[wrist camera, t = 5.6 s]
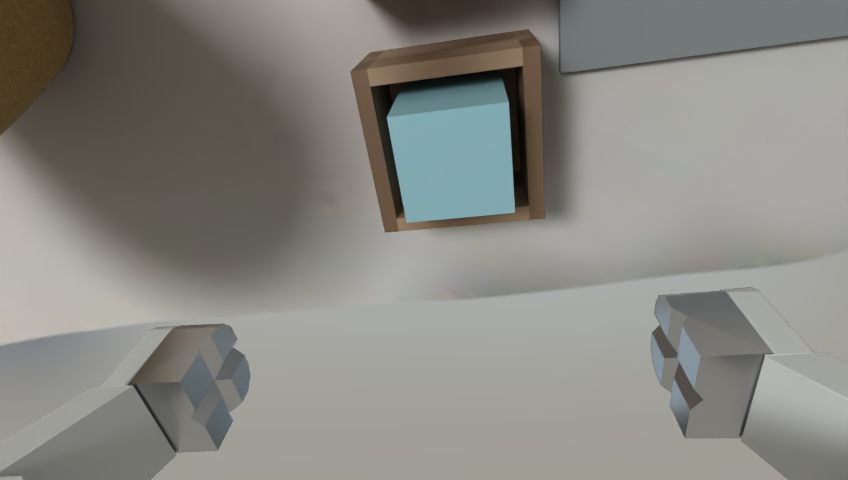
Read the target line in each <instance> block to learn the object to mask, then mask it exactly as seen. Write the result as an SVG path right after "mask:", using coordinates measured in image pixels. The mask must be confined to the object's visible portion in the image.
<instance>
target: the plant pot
mask: <svg viewBox="0 0 848 480" xmlns="http://www.w3.org/2000/svg"><path fill="white" fill-rule="evenodd" d="M73 36H74V29H73V16H72V11H71V6H70V2H69V0H0V135H1V134H2V133H3V132H4V131H5V130H6V129H7V128H8V127H9V126H10V125H11V124H12V123H13V122H14V121H15V120H16V119H17V118H19V116H20V115H21V114H22V113H23V112H24V111H25V110H26V109H27V108H28V107H29V106H30V105H31V104H32V103H33V102H34V101H35V100H36V99H37V97H38V96H39V95H40V94H41V93H42V92H43V90H44V89H45V88H46V87H47V86H48V85H49V83H50V82H51V81H52V80H53V79H54V77H55V76H56V75H57V73H58V72H59V71H60V70H61V68H62V67H63V66H64V64H65V62H66V60H67V59H68V57H69V54H70V51H71V47H72V42H73Z"/></svg>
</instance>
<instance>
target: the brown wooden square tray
mask: <svg viewBox="0 0 848 480" xmlns="http://www.w3.org/2000/svg"><path fill="white" fill-rule="evenodd" d="M497 69H500V72H501V76H502V80H503V83H504V87H505V90H506V94H507V98H508V101H509V115H510V132H511V150H512V167H513V184H514V201H515V213H506V214H496V215H485V216H474V217H463V218H453V219H442V220H431V221H420V222H410V223H406V218H405V212H404V207H403V202H402V196H401V191H400V186H399V180H398V175H397V170H396V164H395V159H394V154H393V148H392V143H391V138H390V132H389V127H388V122H387V116H388V114H389V112H390V110H391V108H392V106H393V104H394V102H395V100H396V98H397V96H398V94H399V92H400V90H401V88H402V86H403V84H404V82H408V81H415V80H423V79H430V78H438V77H445V76H452V75H460V74H467V73H475V72H482V71H489V70H497ZM351 76H352V81H353V86H354V90H355V95H356V100H357V104H358V109H359V114H360V118H361V123H362V128H363V132H364V137H365V141H366V146H367V151H368V155H369V160H370V165H371V169H372V174H373V179H374V183H375V188H376V193H377V197H378V202H379V206H380V211H381V216H382V220H383V225H384V230H385V232H396V231H407V230H418V229H430V228H441V227H452V226H463V225H474V224H485V223H497V222H508V221H519V220H530V219H541V218H545V211H544V170H543V129H542V87H541V46H540V44H539V42H538V41H537V40H536V39H535V37H534V36H533V35H532V34H531V32H530V31H529V30H528V29H527V30H521V31H514V32H507V33H500V34H493V35H486V36H479V37H473V38H466V39H459V40H452V41H445V42H438V43H431V44H424V45H418V46H411V47H404V48H397V49H390V50H383V51H376V52H370V53H369V54H368V55H367V56H366V57H365V58H364V59H363V60H362V61H361V62H360V63H359V64H358V65H357V66H356V67H355V68H354V69H353V70H352V71H351Z"/></svg>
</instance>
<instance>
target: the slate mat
mask: <svg viewBox="0 0 848 480" xmlns="http://www.w3.org/2000/svg"><path fill="white" fill-rule="evenodd" d="M840 36H848V0H559V72H560V73H567V72H575V71H582V70H590V69H597V68H605V67H613V66H620V65H628V64H635V63H643V62H650V61H658V60H666V59H673V58H681V57H688V56H696V55H704V54H711V53H719V52H726V51H734V50H742V49H749V48H757V47H764V46H772V45H779V44H787V43H795V42H802V41H810V40H817V39H825V38H833V37H840Z"/></svg>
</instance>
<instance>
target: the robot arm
mask: <svg viewBox="0 0 848 480" xmlns="http://www.w3.org/2000/svg"><path fill="white" fill-rule="evenodd" d="M654 314H655V316H656V318H657V320H658V322H659V324H660V325H659V326H658V327H657V328H656V329H655V330H654V331H653V332H652V338H651V339H652V340H651V353H652V361H653V366H654V369H655V373H656V375H657V377H658V380H659V382H660V384H661V386H663V387H664V388H666V389H667V390H669V391H670V392H672V395H671V402H670V406H671V409H672V411H673V413H674V415H675V417H676V420H677V422H678V424H679V426H680V428H681V430H682V432H683V435H684V437H685V438H742V439H741V441H742V442H743V443H744V444H746V445H747V446H748V447H749V448H751V449H752V450H753V451H754V452H755V453H757V454H758V455H759V456H760V457H761V458H763V459H764V460H765V461H766V462H768V463H769V464H770V465H771V466H772V467H774V468H775V469H776V470H777V471H778V472H780V473H781V474H782V475H783V476H784V477H786V478H787V479H788V480H848V363H847V362H845V361H843V360H840V359H838V358H836V357H834V356H832V355H830V354H828V353H826V352H813V351H812V350H811V348H810V347H809V346H808V345H807V344H806V343H805V342H804V341H803V339H802V338H801V337H800V336H799V335H798V334H797V333H796V332H795V331H794V329H793V328H792V327H791V326H790V325H789V324H788V323H787V321H786V320H785V319H784V318H783V317H782V316H781V315H780V314H779V313H778V311H777V310H776V309H775V308H774V307H773V306H772V305H771V304H770V302H769V301H768V300H767V299H766V298H765V297H764V296H763V295H762V293H761V292H760V291H759V290H757V289H755V288H752V287H748V288H737V289H727V290H720V291H711V292H697V293H683V294H669V295H659V296H658V298H657V301H656V304H655V311H654ZM236 341H237V337H236V336H235V334H234V332H233V330H232V328H231V327H230V326H228V325H226V324H205V325H181V326H166V327H156V328H154V329H151V330H149V331H148V332H147V333H146V334H145V336H144V337H143V338H142V339H141V340H140V341H139V343H138V344H137V345H136V346H135V347H134V348H133V349H132V351H131V352H130V353H129V354H128V355H127V356H126V357H125V359H124V360H123V361H122V362H121V363H120V364H119V366H118V367H117V368H116V369H115V370H114V371H113V373H112V374H111V375H110V376H109V377H108V378H107V379H106V381H105V382H104V383H103V384H102V385H101V386H100V387H93V388H91V389H89V390H87V391H86V392H84V393H83V394H81V395H79V396H78V397H76V398H74V399H72V400H71V401H69V402H68V403H66V404H64V405H62V406H61V407H59V408H58V409H56V410H55V411H52V412H51V413H49V414H47V415H46V416H44V417H43V418H41V419H39V420H37V421H36V422H34V423H32V424H31V425H29V426H27V427H26V428H24V429H22V430H21V431H19V432H17V433H16V434H14V435H12V436H11V437H9V438H7V439H6V440H4V441H2V442H0V480H151V479H152V478H153V477H154V476H155V475H156V474H157V473H158V472H159V471H160V470H161V469H162V468H163V467H164V466H165V465H166V464H168V463H169V462H170V461H171V460H172V459H173V458H174V457H175V456H176V453H182V452H200V451H217V450H218V449H219V447H220V445H221V443H222V441H223V439H224V437H225V435H226V434H227V432H228V430H229V428H230V426H231V424H232V422H233V419H232V416H231V413H230V412H231V411H232V410H233V409H235V408H236V407H237V406H238V405H240V404H241V403H242V402H243V400H244V398H245V396H246V394H247V391H248V388H249V380H250V371H249V365H248V362H247V360H246V358H245V355H243V354H242V353H240V352H239V351H238V350H236V349H235V348H234V346H235V343H236Z"/></svg>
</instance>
